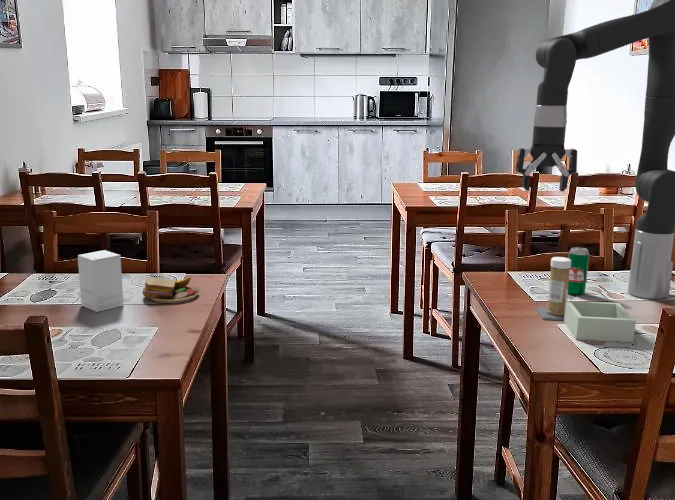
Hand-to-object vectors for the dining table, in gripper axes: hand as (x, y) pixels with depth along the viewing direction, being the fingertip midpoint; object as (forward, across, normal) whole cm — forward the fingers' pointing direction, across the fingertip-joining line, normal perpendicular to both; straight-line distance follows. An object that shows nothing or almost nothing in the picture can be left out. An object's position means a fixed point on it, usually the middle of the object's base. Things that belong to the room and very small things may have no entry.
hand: (544, 190), depth 173 cm
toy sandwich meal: (+28, +92, +10) cm, 97 cm away
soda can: (+28, -12, -5) cm, 31 cm away
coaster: (+28, -2, +13) cm, 31 cm away
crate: (+28, -9, +24) cm, 38 cm away
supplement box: (+27, +106, +19) cm, 111 cm away
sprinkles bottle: (+28, -2, +13) cm, 31 cm away
